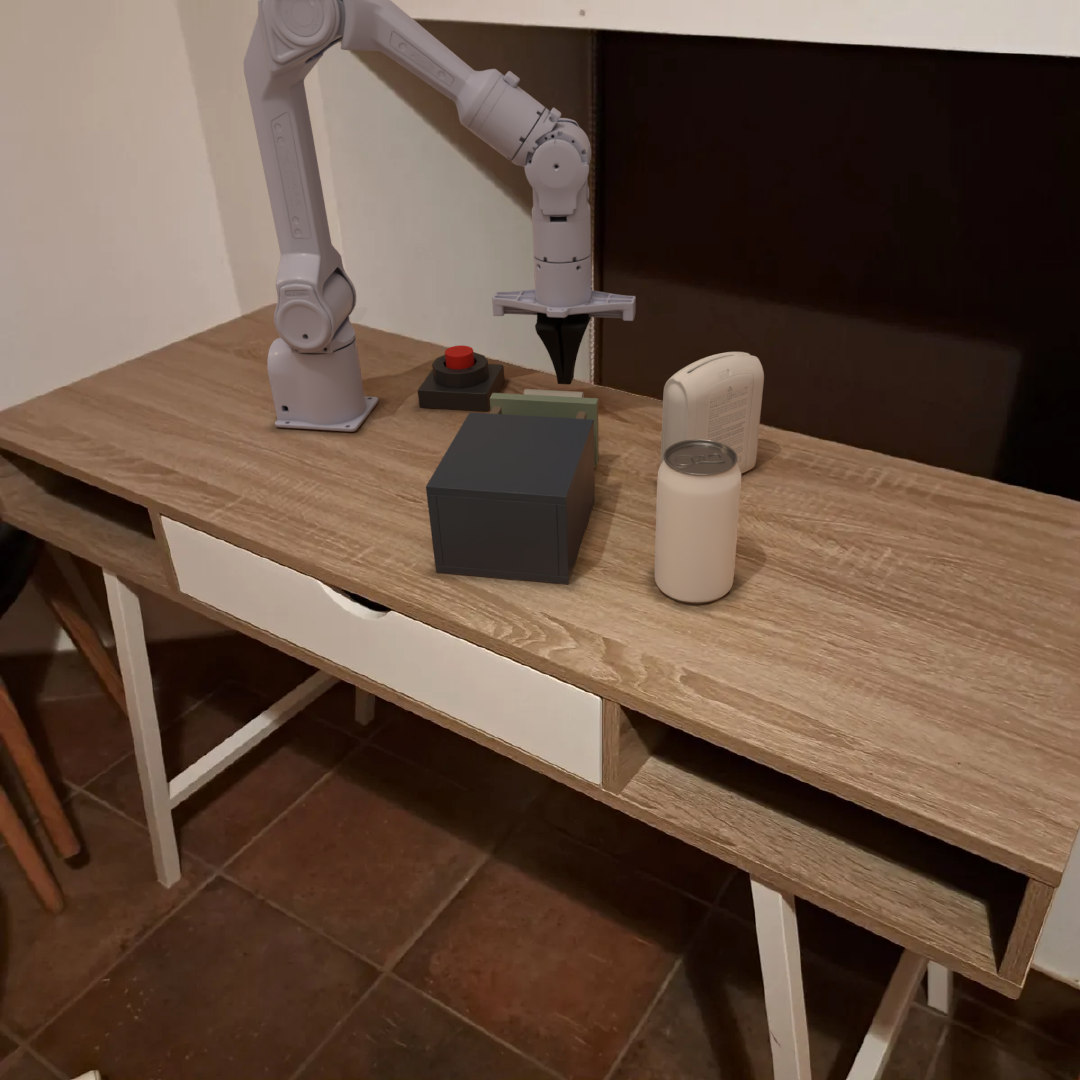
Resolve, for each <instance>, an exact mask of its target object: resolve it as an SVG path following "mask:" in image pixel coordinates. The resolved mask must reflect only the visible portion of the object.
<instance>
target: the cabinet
mask: <svg viewBox="0 0 1080 1080" xmlns="http://www.w3.org/2000/svg"><path fill="white" fill-rule="evenodd" d="M595 481H596V480H595V466H594V420H593V419H576V418H559V417H541V416H524V415H507V414H490V412H489V413H487V412H473V411H469V412H468V414H467V416H466V417H465V419H464V421H463V422H462V424H461V426H460V428H459V429H458V430H457V432H456V435H455V436H454V438H453V440H452V441H451V443H450V445H449V446H448V448H447V450H446V451H445V453H444V454H443V456H442V458H441V460H440V462H439V463H438V465H437V466H436V468H435V470H434V472H433V473H432V475H431V477H430V478H429V480H428V482H427V484H426V485H425V491H426V499H427V501H426V502H427V508H428V517H429V525H430V533H431V543H432V550H433V558H434V559H433V560H434V565H435V573H437V574H448V575H459V576H471V577H480V578H491V579H492V578H493V579H505V580H514V581H526V582H537V583H547V584H558V585H559V584H560V585H569V584H570V581H571V578H572V575H573V572H574V568H575V566H576V563H577V559H578V557H579V556H578V555H579V552H580V549H581V547H582V543H583V539H584V537H585V534H586V530H587V527H588V523H589V520H590V518H591V514H592V510H593V507H594V505H595V501H596V498H595V497H596V495H595V491H596V490H595V489H596V488H595V485H596V483H595Z"/></svg>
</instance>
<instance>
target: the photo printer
mask: <svg viewBox="0 0 1080 1080" xmlns="http://www.w3.org/2000/svg"><path fill="white" fill-rule="evenodd" d="M764 383H765V373H764V368H763V365H762V363H761V361H760V359H759V357H757V356H755V355H751V354H750V353H749V352H744V351H727V352H722V353H716V354H712V355H709V356H706V357H703V358H700V359H698V360H696V361H694V362H692V363H690V364H688V365H686V366H684V367H683V368H681V369H679V370H678V371H676V372H675V373H674V374H673V375H671V377H670V378H668V379H667V381H666V382H665V384H664V386H663V393H662V394H663V395H662V415H661V416H662V418H661V440H660V441H661V443H660V465H661V464H662V462H663V461H664V452H665V450H666V449H667V448H668V447H669V446H671V445H673V444H675V443H677V442H680V441H684V440H691V439H706V440H713V441H717V442H720V443H723V444H725V445H727V446H729V447H731V448H732V449H733V450H734V451H735V452H736V454H737V457H738V459H737V464H738V467H739V469H740V472H741V475H742V474H743V473H746V472H748V471H750V470H752V469H754V467H755V466H756V464H757V457H758V445H759V436H760V435H759V433H760V423H761V411H762V402H763V391H764Z"/></svg>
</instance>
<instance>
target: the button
mask: <svg viewBox="0 0 1080 1080" xmlns="http://www.w3.org/2000/svg"><path fill="white" fill-rule="evenodd" d="M473 352H474V348H473V347H472V346H469V345H463V344H462V345H454V346H450V347H448V348H446V349H445V350H444V355H445V359H446V367H447V368H450V369H465V368H469V367H472V366H474V353H473Z"/></svg>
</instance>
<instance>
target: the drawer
mask: <svg viewBox="0 0 1080 1080" xmlns="http://www.w3.org/2000/svg"><path fill="white" fill-rule="evenodd" d="M489 409H490V412H489V414H507V415H524V416H541V417H559V418H576V419H593V420H594V467H598V464H599V461H600V457H599V456H600V452H599V450H600V448H599V447H600V445H599V443H600V441H599V398H596V397H585V393H584V391H574V390H573V391H571V390H555V389H554V390H553V389H552V390H551V389H536V388H534V389H533V388H525V389H524V390H523V394H521V393H505V392H503V393H502V392H498V393H492V395H491V397H490V408H489Z"/></svg>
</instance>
